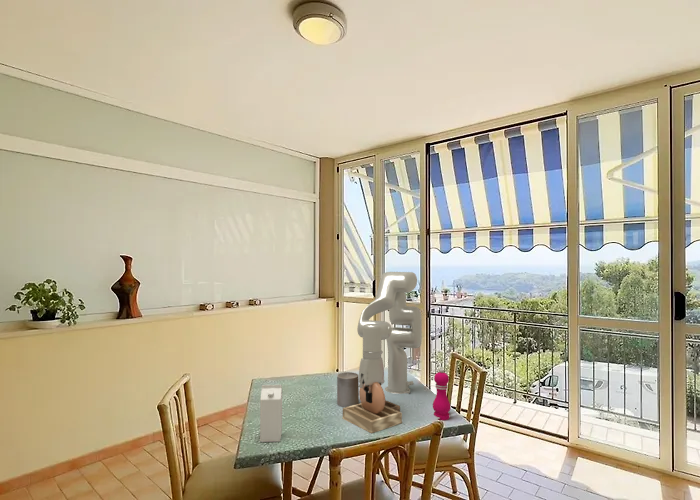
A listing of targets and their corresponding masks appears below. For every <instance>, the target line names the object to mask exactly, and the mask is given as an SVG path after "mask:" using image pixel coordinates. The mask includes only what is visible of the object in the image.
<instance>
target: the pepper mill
mask: <svg viewBox="0 0 700 500" xmlns="http://www.w3.org/2000/svg"><path fill="white" fill-rule="evenodd" d="M433 379H434V382H435V389H436V396H435V397H434V400H433V403H432V409H433V411H434V412H433V415H434V417H436V418H437V420H439V421H448V420H450V413H449V412H450V411H451V403H450V400H449V397H448V394H447V390H448V386H449V385H448V383H449V381H450V377H449V375H448V374H447V373H445V371H444V369H443V368H440V369H439V372H436V373H435V374H434V377H433Z"/></svg>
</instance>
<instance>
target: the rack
mask: <svg viewBox="0 0 700 500" xmlns="http://www.w3.org/2000/svg"><path fill="white" fill-rule="evenodd" d="M342 420H344V421H347V422H348V423H351V424H352V425H354V426H356V427H358V428H360V429H362V430H364V431H366V432H367V433H370V434H374V433H376V432H381V431H382V430H385V429H389V428H392V427H395V426H399V425H400V424H403V413H402V411H400V412H399V411H397V410H394V409H392V408H389V407H387V406H384V409H383V410H382V411H381V412H380V413H377V414H373V413H371V412H369V411H366V410H364V408H363V406H362V404H361V402H359V404H356V405H352V406H349V407H342Z"/></svg>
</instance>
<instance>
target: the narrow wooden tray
mask: <svg viewBox="0 0 700 500" xmlns="http://www.w3.org/2000/svg"><path fill="white" fill-rule="evenodd" d="M385 406H387V407H389V408H392V409H394V410H397V411H399V412H401V405H398V404H396V403H393V402H391V401H389V400H386V399H385Z"/></svg>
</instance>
